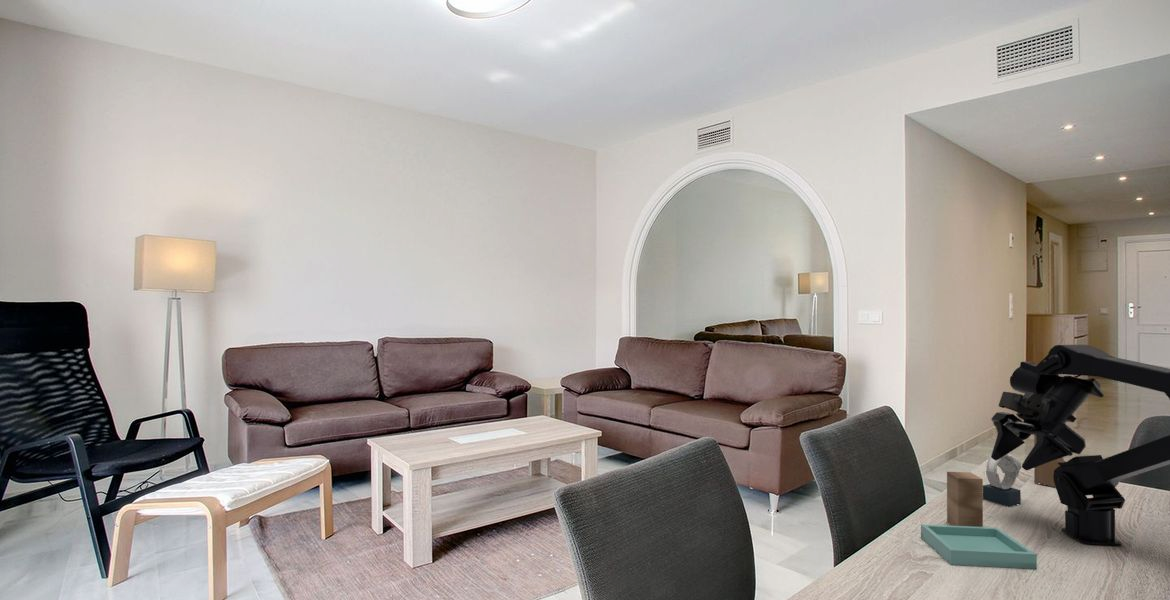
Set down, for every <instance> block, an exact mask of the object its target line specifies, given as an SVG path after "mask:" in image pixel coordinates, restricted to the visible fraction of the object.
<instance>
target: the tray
mask: <svg viewBox="0 0 1170 600" xmlns="http://www.w3.org/2000/svg"><path fill="white" fill-rule="evenodd" d="M920 538H921V539H922V540H924V542H926V543H927V544H928V545H929V546H930V547H931V548H932V549H933V550H934V551H935V552H936V553H937V554H938V555H940V556H941V558H943V559H944V560H945V561H946V562H947V563H949V565H952V566H953V565H954V566H968V567H969V566H970V567H971V566H972V567H990V568H991V567H993V568H1007V569H1009V568H1010V569H1011V568H1012V569H1029V570H1037V569H1038V568H1037V567H1038V565H1037V564H1038V563H1037V562H1038V559H1037V558H1038V555H1037V553H1035V552H1034V551H1033V550H1031V549H1029V548H1028V547H1026V546H1025V545H1024V544H1022V543H1020V542H1019V541H1018V540H1017V539H1015V538H1013V537H1012V536H1010V535H1009V534H1008V533H1007V532H1005V531H1003V530H1001V529H1000V528H998V527H992V526H983V527H972V526H951V525H949V524H948V525H946V524H944V525H942V524H925V523H922V524H920Z"/></svg>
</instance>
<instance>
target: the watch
mask: <svg viewBox="0 0 1170 600" xmlns="http://www.w3.org/2000/svg"><path fill="white" fill-rule="evenodd" d="M991 455H992V453H991V454H990V456H989V457H988V460H987V462H986V466H985V467H986V471H985V473H986V478H987V481H988V483H989V484H984V485H983V501H984V500H985V501H988V502H991V503H994V504H997V505H1000V504H1001V506H1004V505H1005V506H1004V507H1007V506H1008V508H1010V506H1011V507H1014V506H1013V505H1015V506H1018V505H1017V504H1019V505H1021V501H1022V499H1021V498H1022V497H1021V490H1020V489H1017V488H1014V487H1012V486H1013V485H1014V484H1015V482H1016V479H1017V478H1018V477H1019V474H1020V470H1021V469H1022V464H1021V462H1020V461H1019V459H1018V458H1017V457H1016V456H1014V455H1012V454H1010V453H1008V454H1007V455H1005V456H1003V457H1002V458H1000V459H998V460H994V459H993V458H991ZM997 467H998V468H1000V470H1001V472H1002V473H1003V474H1004V476H1003V479H1002V480H1000V476H999V473H998V471H997V470H998V469H997Z"/></svg>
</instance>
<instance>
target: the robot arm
mask: <svg viewBox="0 0 1170 600" xmlns="http://www.w3.org/2000/svg"><path fill="white" fill-rule="evenodd" d="M1047 353H1048V354H1047V355H1046V356H1045V357H1044V358H1042V360H1041V361H1040V362H1038V363H1035V362H1033V361H1029V360H1028V361H1021V362H1020V364H1019V367H1017V368H1016V369H1015V370H1014V371H1013V372H1012V374H1011V376H1010V377H1009V378H1010V379H1009V383H1010V387H1011V388H1012V390H1013V391H1015V392H1018V393H1015V392H1011V391H1003V392H1002V393H1001V396H1000V400H999V402H998V407H999V408H1001V409H1002V408H1003V409H1004V408H1005V409H1007V410H1010V411H1013V412H1016V414H1014V413H1010V412H1004V411H1003V412H1002V411H999V412H996V413H994V415H993V416H992V417H991V418H990V420H991V421H992V423H993V426H994V427H995V428H996V429H995V430H996V432H997V434H996V439H995V443H994V446H993V449H992V452H991V454H992V455H991V454H990V455H991V458H993V459H994V460H998V459H1000V458H1002V457H1003V456H1005V455H1007V454H1010V453H1011V452H1013V451H1014V450H1015V449H1018V448H1019V447H1020V446H1022V445H1023V444H1025V443H1026V442H1025V440H1027V439H1029V438H1030V436H1031V435H1033V436H1034V435H1036V439H1037V442H1036V444H1035V446H1033V447H1032V448H1031V450H1030V452H1029V453H1028V455H1027V456H1026V457H1025V459H1024V461H1023V462H1022V464H1021V469H1023V470H1025V471H1030V470H1032V469H1034V468H1035V467H1037V466H1040V465H1042V464H1045V463H1048V462H1050V461H1053V460H1056V459H1059V458H1062V457H1063V458H1065V457H1071V456H1073V454H1077V455H1078V456H1074V457H1072V458H1070V459H1068V460H1067V461H1065V462H1058V464H1059V465H1060V466H1059V467H1057V468H1055V469H1054V471H1053V472H1054V475H1053V479H1054V483H1055V486H1056V488H1055V489H1056V492H1057V495H1058V498H1059V501H1060V504H1062V505H1065V506H1067V510H1065V512H1064V518H1065V519H1064V527H1062V528H1061V531H1062V533H1065V534H1066V535H1068V536H1071V538H1074V539H1075V540H1077V541H1079V542H1080V543H1082V544H1085V545H1099V546H1101V545H1104V546H1105V545H1106V546H1123V542H1122V541H1119V540H1117V539H1116V509H1118V510H1119V509H1120V510H1121V509H1122V508H1123V507H1124V504H1125V502H1126V499H1125V498H1124V496H1123V495H1122V494H1121V493H1120V492H1119V490H1118V489H1117V486H1118V485H1119V483H1120V482H1121V481H1122V480H1124V479H1128V478H1132V477H1134V476H1138V475H1140V474H1144V473H1146V472H1149V471H1153V470H1156V469H1159V468H1162V467H1165V466H1169V465H1170V433H1169V434H1168V435H1166V436H1163V437H1160V438H1157V439H1155V440H1152V441H1150V442H1146V443H1143V444H1141V445H1137V446H1135V447H1133V448H1130V449H1127V450H1125V451H1122V452H1121V451H1120V452H1119V453H1116V454H1113V455H1111V456H1107V457H1105V458H1103V457H1102V454H1097V455H1096V454H1094V455H1081V453H1082V452H1083V451H1084V450H1085V448H1086V447H1087V445H1086V439H1085V438H1083V436H1081V435H1079V433H1077V432H1076V431H1075V430H1074V429H1072V428H1071V427H1070V426H1068V425H1067V424H1066V423H1067V422H1069V423H1074V422H1075V421H1076V420H1077V419H1078V418H1077V417H1075V415H1074V414H1075V413H1076V412H1077V411H1078V409H1079V408H1080V407H1081V405H1082V404H1083V403H1084V402H1085V401H1086V399H1087V398H1088V397H1089V395H1091V396H1095V397H1099V398H1103V397H1104V392H1103V391H1102V389H1101V384H1100V383H1099V381H1098V380H1097V379H1095V378H1094V377H1098V378H1103V379H1108V380H1111V381H1114V382H1115V381H1116V382H1120V383H1124V384H1129V385H1131V386H1132V385H1133V386H1136V387H1140V388H1144V389H1148V390H1153V391H1157V392H1160V393H1164V394H1165V395H1166V396H1167V397H1168V398H1167V399H1169V400H1170V368H1169V367H1163V366H1159V365H1153V364H1148V363H1144V362H1139V361H1134V360H1130V359H1125V358H1120V357H1116V356H1113V355H1110V354H1109V353H1107V352H1106V351H1104V350H1102V349H1099V348H1097V347H1095V346H1091V345H1089V344H1080V343H1079V344H1078V343H1077V344H1055V345H1053V347H1051V348H1050V349H1049V350H1048V352H1047ZM1060 375H1064V376H1060ZM1076 376H1085V377H1086V376H1087V377H1091V378H1087V379H1086V378H1085V379H1084V378H1080V377H1076ZM1092 377H1093V378H1092ZM1088 496H1092V497H1088Z"/></svg>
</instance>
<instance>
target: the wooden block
mask: <svg viewBox="0 0 1170 600" xmlns="http://www.w3.org/2000/svg"><path fill="white" fill-rule="evenodd" d="M1033 436H1034V438H1033V441H1034V442H1033V445H1034V446H1035V444H1036V442H1037V439H1036V435H1033ZM1034 446H1033V447H1034ZM1058 462H1066V460H1065V459H1064V457H1062V458H1059V459H1056V460H1053V461H1050V462H1048V463H1045V464H1042V465H1040V466H1037V467H1035V468H1033V469H1034V471H1033V473H1034V474H1033V475H1034V477H1033V478H1034V481H1033V482H1034V484H1036V483H1040V484H1045V485H1049V486H1048V487H1050V486H1054V487H1053V488H1055V487H1056V486H1055V483H1054V479H1053V475H1054V472H1053V471H1054V469H1055V468H1057V467H1059V466H1060V465H1059V464H1058ZM1040 484H1039V485H1040ZM1045 485H1044V486H1045Z"/></svg>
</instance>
